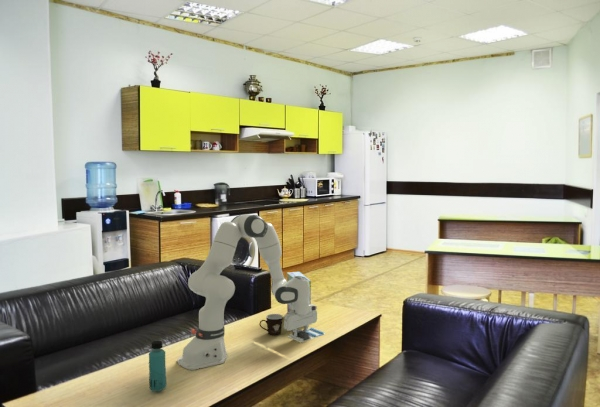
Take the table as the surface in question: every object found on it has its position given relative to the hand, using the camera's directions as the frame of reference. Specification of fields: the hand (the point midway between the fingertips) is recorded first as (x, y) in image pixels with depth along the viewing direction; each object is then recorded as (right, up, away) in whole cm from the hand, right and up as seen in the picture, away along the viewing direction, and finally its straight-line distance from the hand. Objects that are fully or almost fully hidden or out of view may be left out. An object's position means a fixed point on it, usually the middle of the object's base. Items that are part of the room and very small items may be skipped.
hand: (300, 334), depth 239 cm
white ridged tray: (+3, -2, +3) cm, 5 cm away
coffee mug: (-15, -2, +5) cm, 16 cm away
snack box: (-1, 0, +29) cm, 29 cm away
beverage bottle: (-56, -7, -55) cm, 79 cm away
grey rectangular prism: (0, -1, 0) cm, 1 cm away
